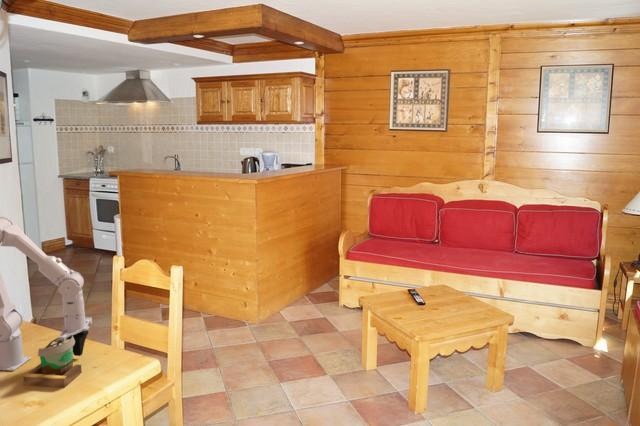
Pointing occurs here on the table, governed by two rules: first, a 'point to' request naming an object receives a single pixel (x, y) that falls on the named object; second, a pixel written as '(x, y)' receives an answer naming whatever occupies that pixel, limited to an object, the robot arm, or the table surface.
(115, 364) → the table surface
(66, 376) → the dock bay
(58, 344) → the food container
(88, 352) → the table surface
